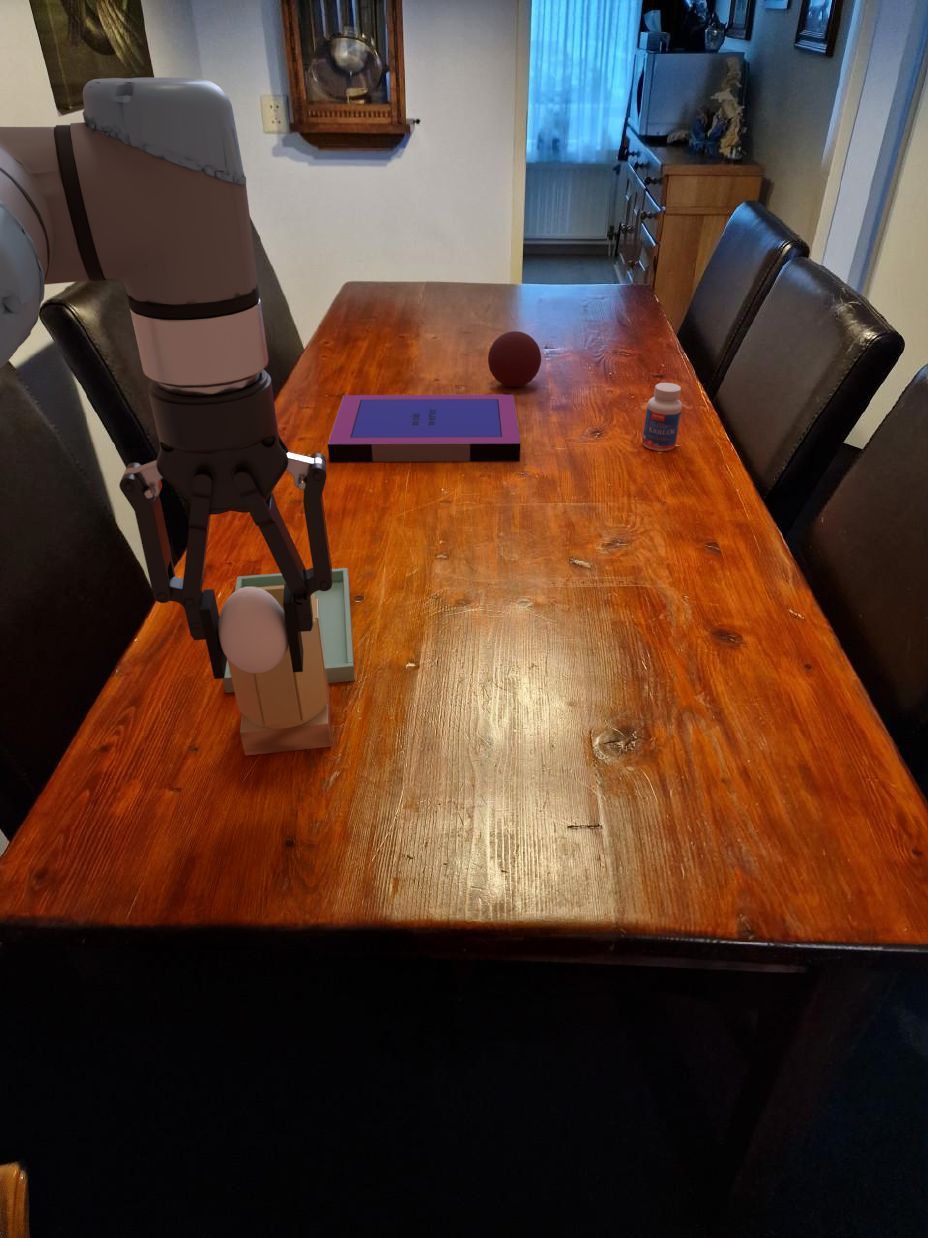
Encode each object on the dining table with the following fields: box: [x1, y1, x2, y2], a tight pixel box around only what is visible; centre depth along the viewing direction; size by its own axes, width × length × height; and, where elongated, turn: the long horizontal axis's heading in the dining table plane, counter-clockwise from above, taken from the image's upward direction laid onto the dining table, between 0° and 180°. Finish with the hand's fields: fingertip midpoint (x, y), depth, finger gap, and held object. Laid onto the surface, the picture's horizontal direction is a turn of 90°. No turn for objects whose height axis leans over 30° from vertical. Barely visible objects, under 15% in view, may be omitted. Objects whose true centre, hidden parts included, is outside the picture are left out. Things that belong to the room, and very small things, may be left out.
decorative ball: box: [487, 330, 542, 388], centre depth 153 cm, size 10×10×10 cm
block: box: [239, 687, 332, 756], centre depth 79 cm, size 8×8×3 cm
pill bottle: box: [641, 382, 683, 452], centre depth 130 cm, size 6×5×10 cm
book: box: [327, 394, 521, 463], centre depth 136 cm, size 21×3×30 cm
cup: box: [227, 585, 330, 729], centre depth 75 cm, size 8×8×10 cm
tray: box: [221, 567, 356, 694], centre depth 91 cm, size 19×13×2 cm
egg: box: [218, 587, 289, 673], centre depth 62 cm, size 5×5×7 cm
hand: (259, 664), depth 64 cm, fingers closed on egg, 5 cm apart
